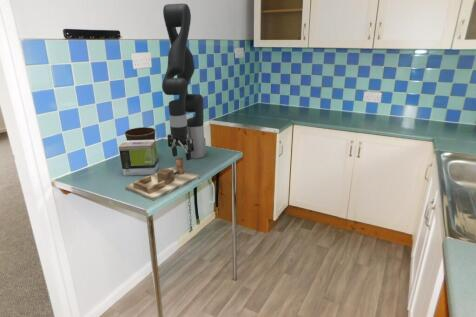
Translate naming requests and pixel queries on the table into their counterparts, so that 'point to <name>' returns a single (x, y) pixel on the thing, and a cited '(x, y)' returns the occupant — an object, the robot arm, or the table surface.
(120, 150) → the tea box
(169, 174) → the walnut block
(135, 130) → the plant pot
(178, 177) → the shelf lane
